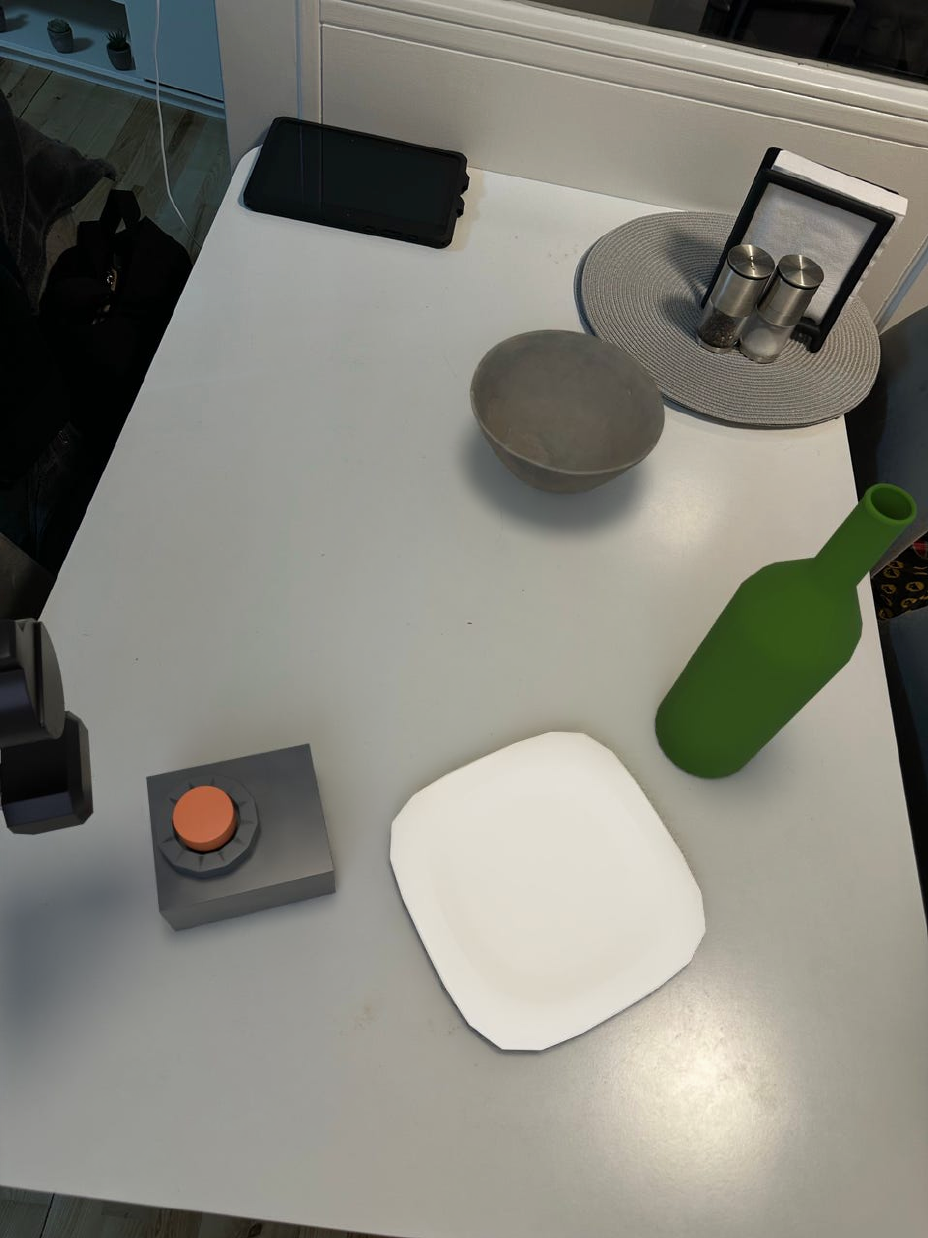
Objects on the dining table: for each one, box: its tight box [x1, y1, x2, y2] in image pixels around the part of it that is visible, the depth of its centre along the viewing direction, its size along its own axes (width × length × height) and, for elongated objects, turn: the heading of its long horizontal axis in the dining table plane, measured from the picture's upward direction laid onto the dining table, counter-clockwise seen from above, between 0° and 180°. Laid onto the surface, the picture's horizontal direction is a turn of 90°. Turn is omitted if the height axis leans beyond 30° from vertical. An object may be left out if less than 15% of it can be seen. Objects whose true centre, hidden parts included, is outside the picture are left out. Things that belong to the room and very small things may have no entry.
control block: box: [145, 743, 337, 933], centre depth 65 cm, size 12×10×8 cm
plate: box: [389, 731, 707, 1051], centre depth 69 cm, size 22×22×2 cm
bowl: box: [469, 329, 666, 495], centre depth 88 cm, size 19×19×10 cm
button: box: [173, 786, 237, 851], centre depth 61 cm, size 4×4×2 cm
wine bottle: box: [655, 482, 918, 780], centre depth 64 cm, size 9×9×32 cm
